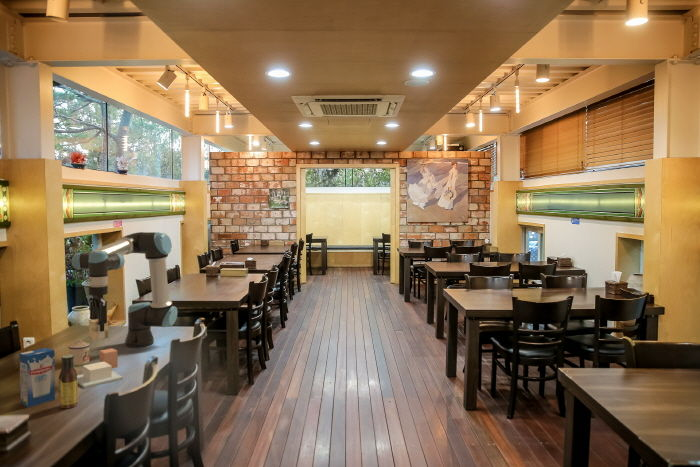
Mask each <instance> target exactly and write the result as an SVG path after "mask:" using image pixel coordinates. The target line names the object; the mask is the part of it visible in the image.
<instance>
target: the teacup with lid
mask: <svg viewBox="0 0 700 467" xmlns="http://www.w3.org/2000/svg"><path fill="white" fill-rule="evenodd" d="M90 346H91V344H90V343H89V342H87V341H83V340H82V339H77V340H76V342H74V343H70V345H69V347H68V350H69V352H68V353H69V354H68V355H73V356H74V359H73V365H74V366H75V367H76V366H84V365H88V364H89V363H90ZM74 366H73V367H74Z"/></svg>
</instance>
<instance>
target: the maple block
mask: <svg viewBox="0 0 700 467" xmlns="http://www.w3.org/2000/svg"><path fill="white" fill-rule="evenodd" d="M97 323H99V322H98V319H92V320H91V319H88V338H89V339H91V340H92V341H96V340H97V341H98V340H99V339H98V325H97ZM103 339H109V320H108V319H107V323H105V338H102V339H101V340H103Z"/></svg>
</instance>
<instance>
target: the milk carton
mask: <svg viewBox="0 0 700 467" xmlns="http://www.w3.org/2000/svg"><path fill="white" fill-rule="evenodd" d="M55 356H56V355H55V349H51V348H49V347H44V348H43V347H42V348H39V349H35V350H29V351H25V352H20V353H19V404H20V405H21V406H23V405H24V407H26V408H28V407H29V408H32V407H35V406H38V404H39V405H42V404H45V403H48V402H52V401H55V400H56V390H55V389H56V385H55V384H56V381H55V379H56V372H55V371H56V370H55V368H56V364H55V363H56V361H55ZM54 399H55V400H54ZM51 400H52V401H51ZM47 401H48V402H47ZM44 402H45V403H44ZM41 403H42V404H41ZM31 406H32V407H31Z"/></svg>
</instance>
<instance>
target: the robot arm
mask: <svg viewBox="0 0 700 467" xmlns="http://www.w3.org/2000/svg"><path fill="white" fill-rule="evenodd" d="M171 252H172V239H171V238H170V236H169V235H168V234H167V233H165V232H157V231H156V232H154V231H153V232H151V231H150V232H147V231H146V232H145V231H139V232H134V233H130V234H127V235H124V236H121V237H120V238H118V239H117V240H116V241H113V242H111V243H108V244H106V245H103V246H101V247H98V248H95V249H92V250H89V251H86V252H76V253H74V254H73V255H72V257H71V265H72V267H73V268H74V269H76V270H88V279H87V282H88V285H89V286H88V295H89V296H92V297H90V298H89V320H92V319H98V322H99V323H97V325H98V340H103V339H102V338H104V339H106V338H105V323H107V320H108V312H107V311H108V307H107V306H108V301H107V300H105V297H104V296H105V295H107V294H108V292H109V291H108V290H109V289H108V287H109V286H108V284H109V282H108V281H109V274H108V271H109V272H110V271H114V270H115V271H116V270H119V269H121V268H123V267H124V265H125V262H126V261H125V257H124V256H123V255H126V256H127V255H130V254H142V255H143V254H144V256H145V257H144V258H145V259H146V260H147V261H148V267H149V279H150V287H151V298H152V302H150V301H146V302H145V301H144V302H138V303H133V304H130V305H129V306H128V311H127V316H128V317H127V320H128V321H127V324H128V325H127V327H128V330H127V333H126V337H125V340H124V346H125V347H128V348H142V347H143V348H144V347H147V346H152V345H154V342H155V338H154V335H153V333H152V331H151V327H161V328H170V327H172V326H173V325H174V324H175V322H176V320H177V318H178V308H177V306H173V301H172V300H170V294H169V285H168V273H167V260H166V259H167V258H168V257H169V254H170V253H171Z"/></svg>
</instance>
